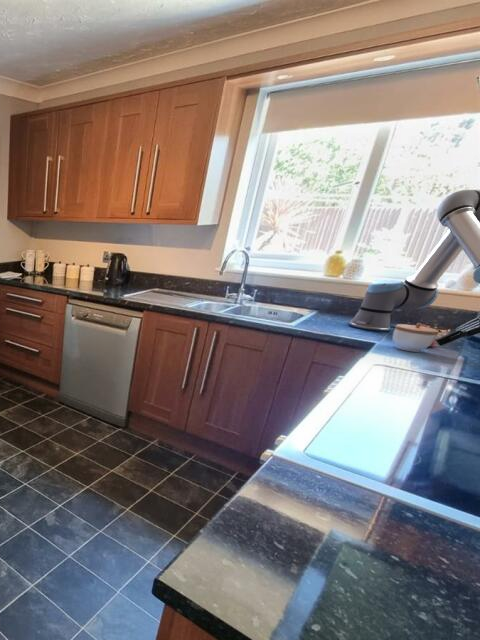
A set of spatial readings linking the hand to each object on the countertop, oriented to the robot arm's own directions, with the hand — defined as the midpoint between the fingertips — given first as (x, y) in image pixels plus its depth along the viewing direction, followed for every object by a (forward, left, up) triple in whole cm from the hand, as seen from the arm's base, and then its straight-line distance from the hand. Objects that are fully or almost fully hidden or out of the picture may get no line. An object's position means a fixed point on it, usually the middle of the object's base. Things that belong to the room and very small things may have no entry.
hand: (438, 342), depth 171 cm
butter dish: (-6, -14, -4) cm, 16 cm away
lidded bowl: (+7, -4, -4) cm, 9 cm away
